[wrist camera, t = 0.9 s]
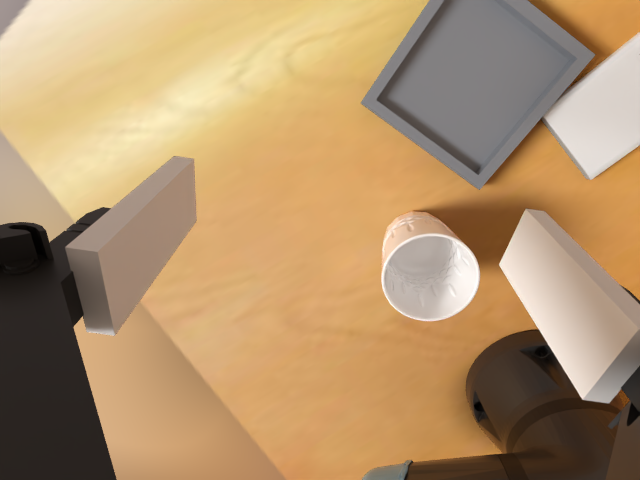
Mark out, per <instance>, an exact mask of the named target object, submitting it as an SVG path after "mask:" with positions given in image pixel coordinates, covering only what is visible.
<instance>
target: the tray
mask: <svg viewBox="0 0 640 480" xmlns="http://www.w3.org/2000/svg"><path fill="white" fill-rule="evenodd" d="M594 56H595V54H594V53H593V52H591V51H590V50H589V49H588V48H586V47H585V46H584V45H583V44H581V43H580V42H579V41H578V40H576V39H575V38H574V37H573V36H571V35H570V34H569V33H568V32H566V31H565V30H564V29H563V28H561V27H560V26H559V25H558V24H556V23H555V22H554V21H553V20H551V19H550V18H549V17H548V16H546V15H545V14H544V13H543V12H541V11H540V10H539V9H538V8H536V7H535V6H534V5H533V4H531V3H530V2H529V1H528V0H430V1H429V2H428V3H427V5H426V6H425V8H424V9H423V11H422V12H421V14H420V15H419V17H418V18H417V20H416V21H415V23H414V24H413V26H412V27H411V29H410V30H409V32H408V33H407V35H406V36H405V38H404V39H403V41H402V42H401V44H400V45H399V47H398V48H397V50H396V51H395V53H394V54H393V56H392V57H391V59H390V60H389V62H388V63H387V65H386V66H385V68H384V69H383V70H382V72H381V73H380V75H379V76H378V78H377V79H376V81H375V82H374V84H373V85H372V87H371V88H370V90H369V91H368V93H367V94H366V96H365V97H364V99H363V100H362V102H361V104H362V105H364V106H365V107H366V108H368V109H369V110H370V111H372V112H373V113H375V114H376V115H377V116H379V117H380V118H381V119H383V120H384V121H385V122H387V123H388V124H390V125H391V126H392V127H394V128H395V129H396V130H398V131H399V132H400V133H402V134H403V135H405V136H406V137H407V138H409V139H410V140H411V141H413V142H414V143H416V144H417V145H418V146H420V147H421V148H422V149H424V150H425V151H426V152H428V153H429V154H431V155H432V156H433V157H435V158H436V159H437V160H439V161H440V162H441V163H443V164H444V165H446V166H447V167H448V168H450V169H451V170H452V171H454V172H455V173H457V174H458V175H459V176H461V177H462V178H463V179H465V180H466V181H467V182H469V183H470V184H472V185H473V186H474V187H476V188H477V189H479V190H480V189H481V188H482V186H483V185H484V184H485V183H486V182H487V181H488V179H489V178H490V177H491V176H492V175H493V174H494V172H495V171H496V170H497V169H498V168H499V167H500V165H501V164H502V163H503V162H504V161H505V160H506V158H507V157H508V156H509V155H510V154H511V153H512V152H513V150H514V149H515V148H516V147H517V146H518V145H519V143H520V142H521V141H522V140H523V139H524V138H525V136H526V135H527V134H528V133H529V132H530V131H531V129H532V128H533V127H534V126H535V125H536V124H537V122H538V121H539V120H540V119H541V118H542V117H543V115H544V114H545V113H546V112H547V111H548V110H549V108H550V107H551V106H552V105H553V104H554V103H555V101H556V100H557V99H558V98H559V97H560V96H561V94H562V93H563V92H564V91H565V90H566V89H567V87H568V86H569V85H570V84H571V83H572V82H573V81H574V79H575V78H576V77H577V76H578V75H579V74H580V72H581V71H582V70H583V69H584V68H585V67H586V65H587V64H588V63H589V62H590V61H591V60H592V58H593V57H594Z"/></svg>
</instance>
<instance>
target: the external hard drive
mask: <svg viewBox="0 0 640 480" xmlns="http://www.w3.org/2000/svg"><path fill="white" fill-rule="evenodd" d="M541 120H542V121H543V123H544V124H545V125H546V127H547V128H548V129H549V131H550V132H551V133H552V135H553V136H554V137H555V138H556V140H557V141H558V142H559V144H560V145H561V146H562V148H563V149H564V150H565V152H566V153H567V154H568V156H569V157H570V158H571V159H572V161H573V162H574V163H575V165H576V166H577V167H578V169H579V170H580V171H581V173H582V174H583V175H584V177H585V178H586V179H589V180H592V179H593V178H595V177H596V176H597V175H599V174H600V173H602V172H603V171H604V170H606V169H607V168H609V167H610V166H611V165H613V164H614V163H616V162H617V161H618V160H620V159H621V158H623V157H624V156H625V155H627V154H628V153H630V152H631V151H632V150H634V149H635V148H637V147H638V146H639V145H640V32H639V33H637V34H636V35H635V36H634V37H632V38H631V39H630V40H629V41H627V42H626V43H625V44H624V45H622V46H621V47H620V48H619V49H617V50H616V51H615V52H614V53H612V54H611V55H610V56H609V57H607V58H606V59H605V60H604V61H602V62H601V63H600V64H599V65H598V66H596V67H595V68H594V69H593V70H591V71H590V72H589V73H588V74H586V75H585V76H584V77H583V78H581V79H580V80H579V81H578V82H576V83H575V84H574V85H573V86H571V87H570V88H569V89H568V90H566V91H565V92H564V93H563V94H561V96H560V97H559V98H558V99H557V100H556V101H555V103H554V104H553V105H552V106H551V107H550V108H549V110H548V111H547V112H546V113H545V114H544V115H543V117H542V118H541Z"/></svg>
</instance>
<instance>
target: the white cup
mask: <svg viewBox="0 0 640 480" xmlns="http://www.w3.org/2000/svg"><path fill="white" fill-rule="evenodd" d="M479 282H480V269H479V265H478V262H477V259H476V257H475V255H474V254H473V252H472V251H471V250H470V249H469V248H468V247H467V246H466V245H465V244H464V243H463V241H462V240H461V239H460V238H459V237H458V236H457V235H456V234H455V233H454V232H453V231H452V230H451V229H449V228H448V226H446V225H445V224H444V223H443V222H441V221H440V220H439V219H438V218H436V217H434V216H433V215H431V214H429V213H427V212H416V211H411V212H408V213H406V214H403V215H400V216H398V217H397V218H396V219H395V220H394V221H393V222H392V223H391V224H390V225H389V226H388V227H387V230H386V233H385V236H384V239H383V249H382V287H383V291H384V293H385V296H386V298H387V299H388V301H389V302H390V304H391V305H392V306H393V307H394V308H395V309H396V310H397V311H399V312H400V313H402V314H403V315H405V316H407V317H410V318H412V319H416V320H421V321H438V320H443V319H446V318H449V317H451V316H453V315H455V314H457V313H459V312H460V311H462V310H463V309H464V308H465V307H466V306H467V305H468V304H469V303H470V302H471V301H472V299H473V298H474V296H475V294H476V292H477V290H478V287H479Z"/></svg>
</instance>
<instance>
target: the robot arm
mask: <svg viewBox="0 0 640 480" xmlns="http://www.w3.org/2000/svg"><path fill="white" fill-rule="evenodd" d="M195 222H196V196H195V171H194V159H192V158H185V157H179V156H173V157H172V158H171V159H170V160H169V161H167V162H166V163H165V164H164V165H163V166H161V167H160V168H159V169H158V170H157V171H156V172H154V173H153V174H152V175H151V176H150V177H148V178H147V179H146V180H145V181H144V182H142V183H141V184H140V185H139V186H138V187H136V188H135V189H134V190H133V191H132V192H130V193H129V194H128V195H127V196H126V197H124V198H123V199H122V200H121V201H120V202H118V203H117V204H116V205H115V206H114V207H112V208H104V207H102V208H100V209H97V210H95V211H92V212H90V213H87V214H86V215H84V216H83V217H82V218H80V219H79V220H78V221H77V222H76V224H73V225H71V226H70V227H69V228H68V229H67V231H64V232H62V233H61V234H60V235H59V236H57V237H56V238H55V239H53V240H52V241H51V242H50V243H49V240H48V236H47V233H46V230H45V229H44V228H43V227H42V226H40V225H38V224H34V223H26V222H18V223H8V224H3V225H0V480H116V476H115V472H114V469H113V465H112V462H111V458H110V455H109V451H108V448H107V444H106V441H105V437H104V434H103V430H102V427H101V423H100V420H99V416H98V413H97V409H96V406H95V402H94V398H93V395H92V391H91V388H90V385H89V381H88V378H87V374H86V370H85V367H84V363H83V360H82V357H81V353H80V349H79V346H78V342H77V339H76V335H75V332H74V328H73V327H74V325H75V324H76V323H77V322H78V321H79V320H80V318H81V317H82V316H83V319H84V323H85V327H86V331H87V332H92V333H99V334H107V335H114V336H115V335H116V334H117V332H118V330H119V329H120V328H121V326H122V325H123V324H124V322H125V321H126V319H127V318H128V317H129V315H130V314H131V312H132V311H133V310H134V308H135V307H136V305H137V304H138V303H139V301H140V300H141V298H142V297H143V296H144V294H145V293H146V291H147V290H148V288H149V287H150V286H151V284H152V283H153V281H154V280H155V279H156V277H157V276H158V274H159V273H160V272H161V270H162V269H163V267H164V266H165V265H166V263H167V262H168V260H169V259H170V258H171V256H172V255H173V253H174V252H175V251H176V249H177V248H178V246H179V245H180V243H181V242H182V241H183V239H184V238H185V236H186V235H187V234H188V232H189V231H190V229H191V228H192V227H193V225H194V224H195ZM499 266H500V267H501V269H502V271H503V272H504V274H505V276H506V277H507V279H508V280H509V282H510V284H511V285H512V287H513V288H514V290H515V292H516V293H517V295H518V296H519V298H520V300H521V301H522V303H523V305H524V306H525V308H526V309H527V311H528V313H529V314H530V316H531V317H532V319H533V321H534V322H535V324H536V326H537V327H538V329H539V330H534V331H526V332H520V333H516V334H513V335H510V336H507V337H505V338H503V339H501V340H499V341H497V342H495V343H494V344H492V345H491V346H489V347H488V348H487V349H485V350H484V351H483V352H482V353H481V354H480V355H479V356H478V358H477V359H476V360H475V361H474V363H473V365H472V366H471V368H470V370H469V373H468V376H467V380H466V396H467V400H468V403H469V406H470V408H471V411H472V414H473V416H474V418H475V420H476V422H477V423H478V425H479V426H480V428H481V429H482V430H483V431H484V432H485V434H486V435H487V436H488V437H489V438H490V439H491V440H492V442H493V443H494V444H495V445H496V446H497V447H498V448H499V450H500V451H501V452H502V453H503V454H494V455H484V456H473V457H463V458H453V459H442V460H432V461H422V462H413V461H412V460H407V461H406V462H405V463H402V464H396V465H390V466H383V467H377V468H374V469H372V470H370V471H369V472H368V473H366V474H365V476H364V477H363V479H362V480H640V301H639V300H638V299H637V298H636V297H635V296H634V295H633V294H632V293H631V292H630V291H629V290H627V289H626V288H624V287H623V286H621V285H620V284H618V283H617V282H616V281H615V280H614V279H613V278H612V277H611V276H610V275H609V274H608V273H607V272H606V271H605V270H604V269H603V268H602V267H601V266H600V265H599V264H598V263H597V262H596V261H595V260H594V259H593V258H592V257H591V256H590V255H589V254H588V253H587V252H586V251H585V250H584V249H583V248H582V247H581V246H580V245H579V244H578V243H577V242H575V241H574V240H573V239H572V238H571V237H570V236H569V235H568V234H567V233H566V232H565V231H564V230H563V229H562V228H561V227H560V226H559V225H558V224H557V223H556V222H555V221H554V220H553V219H552V218H551V217H550V216H549V215H548V214H547V213H546V212H545V211H540V210H533V209H525V211H524V213H523V215H522V217H521V219H520V221H519V224H518V226H517V228H516V230H515V232H514V234H513V236H512V238H511V241H510V243H509V245H508V247H507V249H506V251H505V253H504V255H503V258H502V260H501V262H500V264H499ZM621 389H622V390H623V391H624V393H625V394H626V395H627V397H628V398H629V399H630V401H629V402H628V403H627V405H626V406H625V407H623V404H622V401H621V399H620V396H619V393H618V392H619V391H620V390H621Z"/></svg>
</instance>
